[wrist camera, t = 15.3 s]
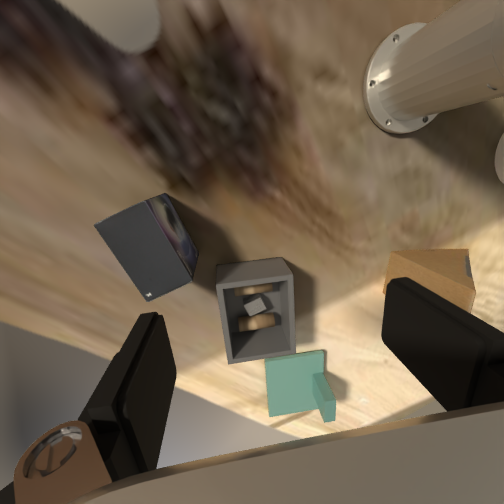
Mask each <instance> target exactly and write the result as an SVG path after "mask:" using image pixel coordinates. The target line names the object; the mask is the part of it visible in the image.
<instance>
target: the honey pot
mask: <svg viewBox="0 0 504 504" xmlns="http://www.w3.org/2000/svg"><path fill="white" fill-rule="evenodd" d="M495 170H496V173H497V176H498V178H499V180H500V181H501V182H502V183H503V184H504V133H503V134H502V136H501V138H500V140H499V143H498V146H497V149H496V154H495Z"/></svg>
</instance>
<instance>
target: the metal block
mask: <svg viewBox="0 0 504 504" xmlns="http://www.w3.org/2000/svg"><path fill="white" fill-rule="evenodd" d="M243 304H244V307H245V309H246V310H247V312H248V314H249V316H253V315H255V314H257V313H259V312H261V311H263V310H265V309H266V306H265V303H264V301H263V299H262V297H261V295H260V293H256V294H253V295H250V296H248V297H246V298H244V299H243Z"/></svg>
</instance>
